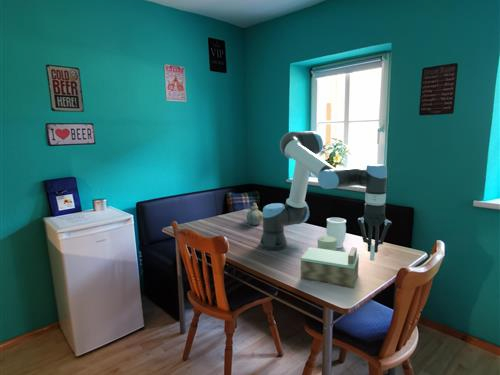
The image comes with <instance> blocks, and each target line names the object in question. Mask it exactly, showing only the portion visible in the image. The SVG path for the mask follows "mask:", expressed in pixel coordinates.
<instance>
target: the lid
mask: <svg viewBox="0 0 500 375" xmlns="http://www.w3.org/2000/svg"><path fill="white" fill-rule="evenodd" d="M357 249H358V248H357V247H353V246H352V247H351V248H350V251H348V252H347V251H341V250H340V251H339V250H336V251H334V250H327V249H320V248H318V247H310V246H309V247H308V248H307V250H306V251H305V252H304V253H303V254H302V256H301V257H300V262H301V261H307V262H313V263H320V264H326V265H332V266H338V267H344V268H350V269H354V268H355V265H356V263H357V260H358V257H359V258H360V254H359V253H357V251H358V250H357Z"/></svg>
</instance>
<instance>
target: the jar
mask: <svg viewBox="0 0 500 375" xmlns="http://www.w3.org/2000/svg"><path fill="white" fill-rule="evenodd" d="M346 223H347V219H345V218H341V217H329V218H326V236H331V237H335V238H336V239H337V242H336V249H342V248H344V242H345V239H346V233H347V226H346Z"/></svg>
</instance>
